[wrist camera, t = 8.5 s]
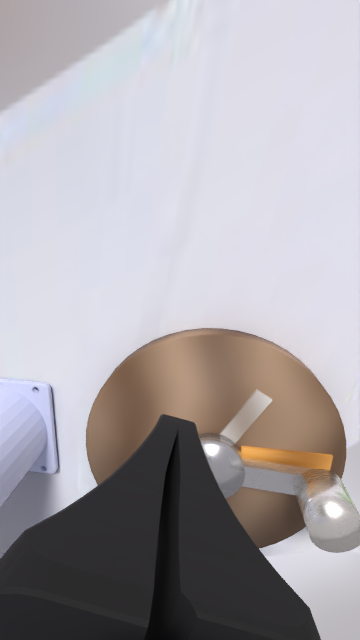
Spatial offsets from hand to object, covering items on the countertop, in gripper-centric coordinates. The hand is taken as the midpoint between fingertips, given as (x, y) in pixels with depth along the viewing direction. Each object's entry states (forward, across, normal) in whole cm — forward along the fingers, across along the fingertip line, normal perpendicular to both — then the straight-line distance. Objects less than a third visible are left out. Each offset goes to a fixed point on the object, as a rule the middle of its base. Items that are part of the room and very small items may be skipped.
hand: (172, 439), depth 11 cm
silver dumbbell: (+7, -7, +6) cm, 12 cm away
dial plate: (+9, -4, +7) cm, 12 cm away
